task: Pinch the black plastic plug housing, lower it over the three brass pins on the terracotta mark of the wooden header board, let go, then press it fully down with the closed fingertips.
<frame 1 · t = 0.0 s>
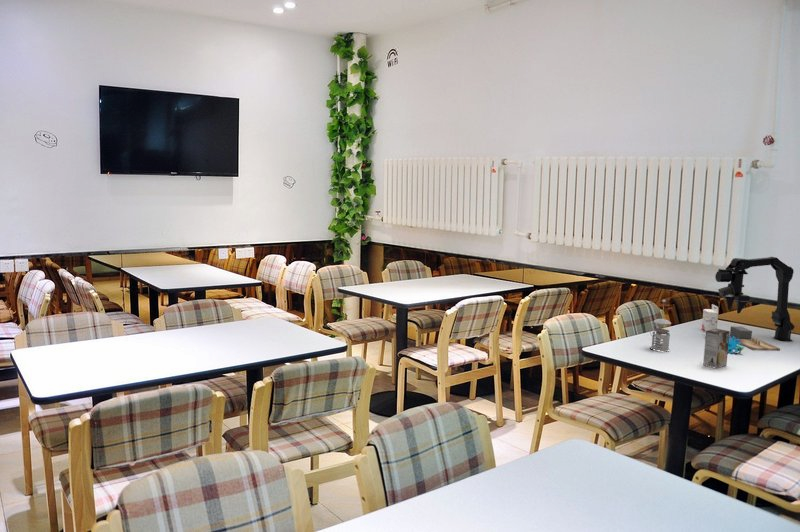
hand: (733, 311, 345), 15 cm above the table, fingers open, 9 cm apart
french press: (658, 349, 322), on the table
gear: (730, 352, 319), on the table
plug housing: (740, 337, 350), on the table
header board: (755, 345, 334), on the table
ink cartridge box: (708, 331, 363), on the table
coffee box: (714, 365, 296), on the table
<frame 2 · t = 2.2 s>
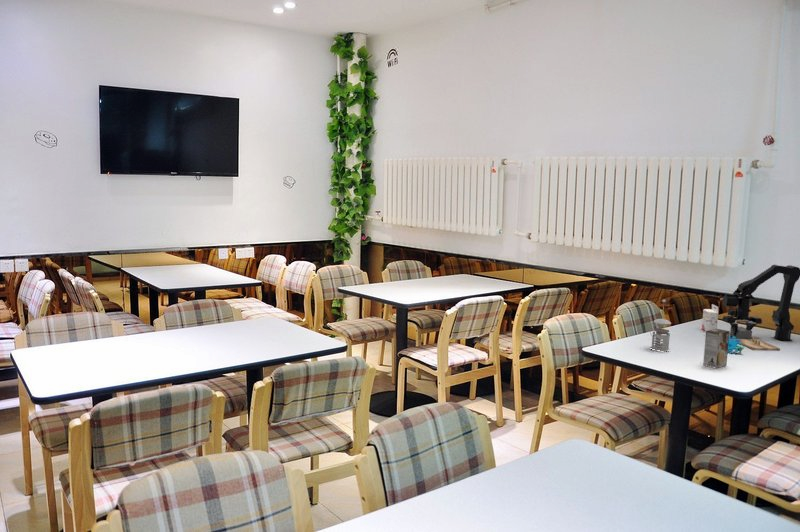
hand: (740, 335, 350), 1 cm above the table, fingers closed on plug housing, 6 cm apart
plug housing: (740, 337, 350), on the table, touching gripper
everything else where it was.
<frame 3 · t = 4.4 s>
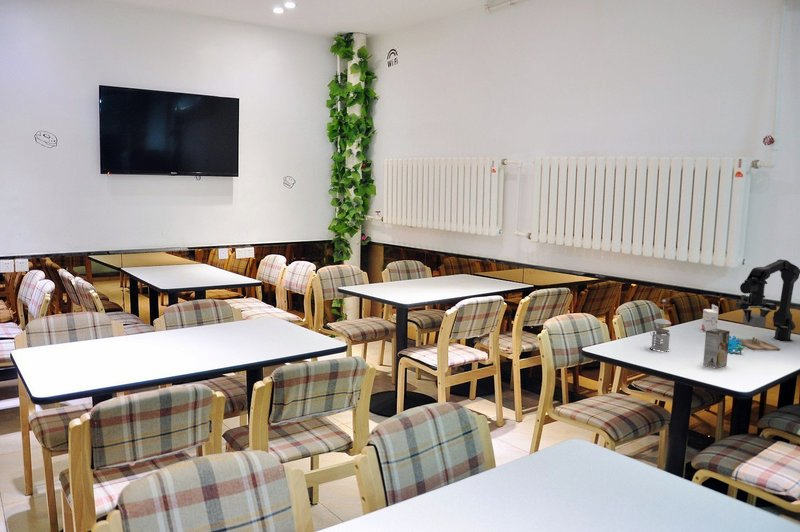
hand: (754, 322, 336), 11 cm above the table, fingers closed on plug housing, 6 cm apart
plug housing: (753, 324, 336), point 10 cm above the table, touching gripper
everything else where it was.
when the fingers open (3 cm above the table, at t = 7.1 s): plug housing stays where it is, resting on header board.
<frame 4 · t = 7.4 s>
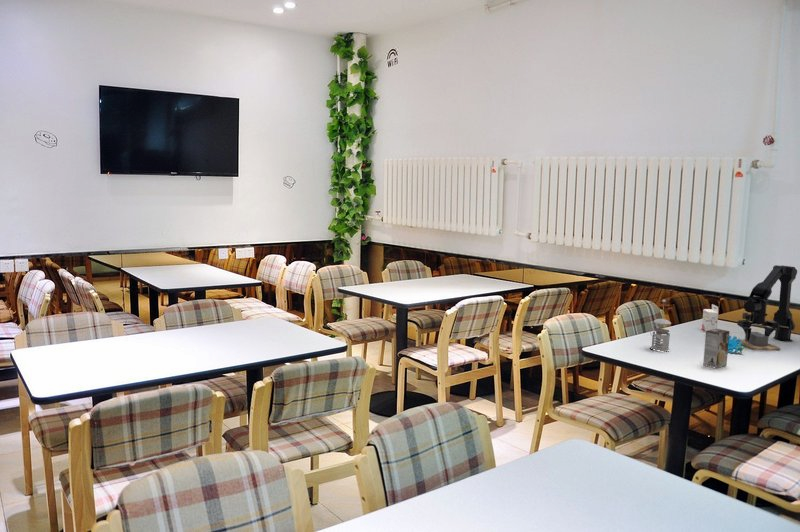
hand: (756, 340, 334), 3 cm above the table, fingers open, 9 cm apart
plug housing: (756, 343, 334), point 1 cm above the table, touching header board
everything else where it was.
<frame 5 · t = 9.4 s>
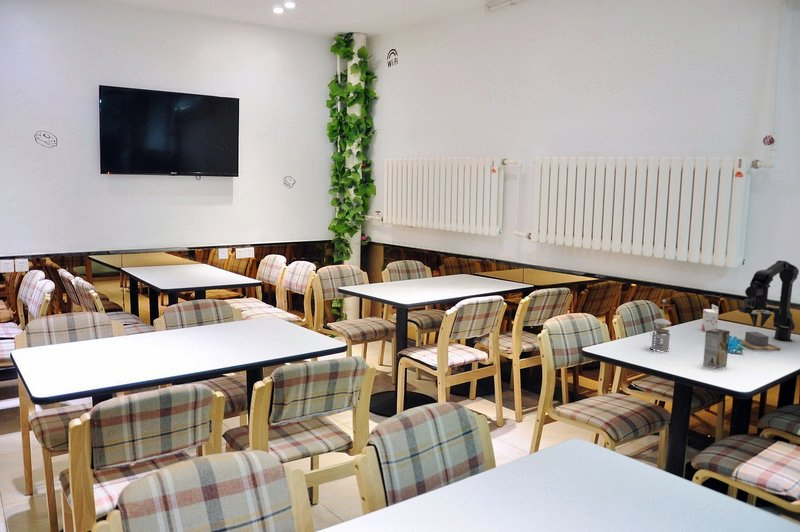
hand: (757, 326, 332), 10 cm above the table, fingers open, 3 cm apart
nothing on the table moved.
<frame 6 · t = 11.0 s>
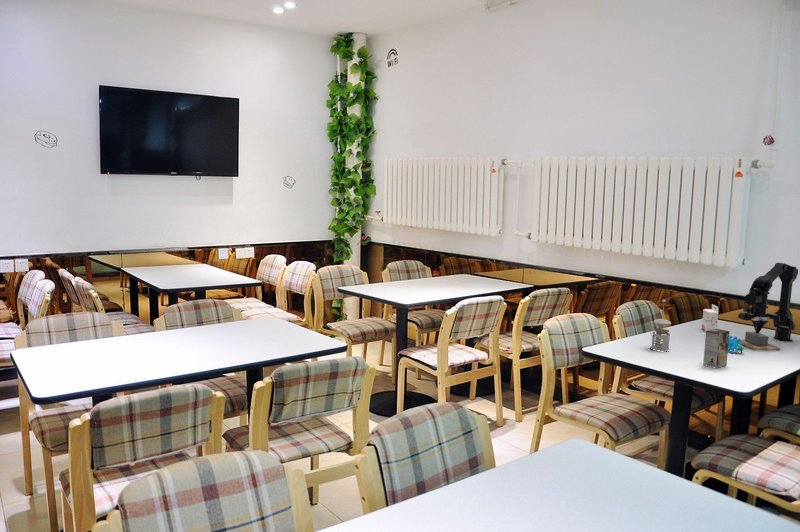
hand: (757, 333, 333), 6 cm above the table, fingers closed
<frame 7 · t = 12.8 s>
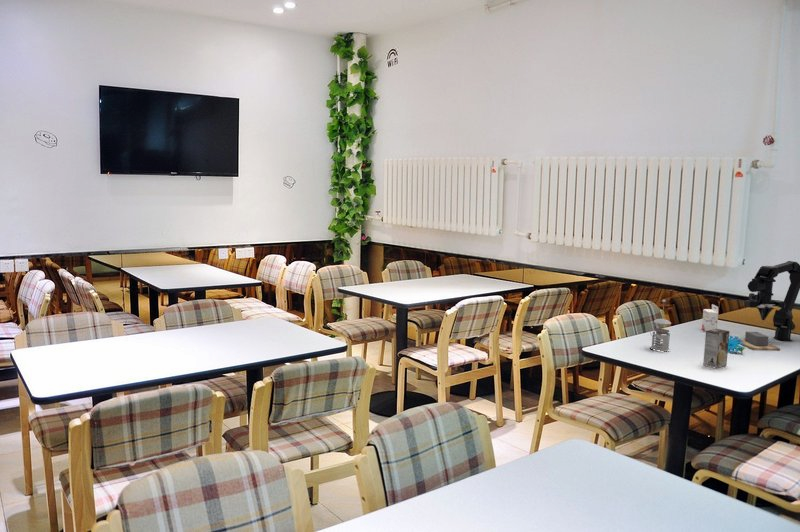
hand: (763, 320, 340), 12 cm above the table, fingers closed
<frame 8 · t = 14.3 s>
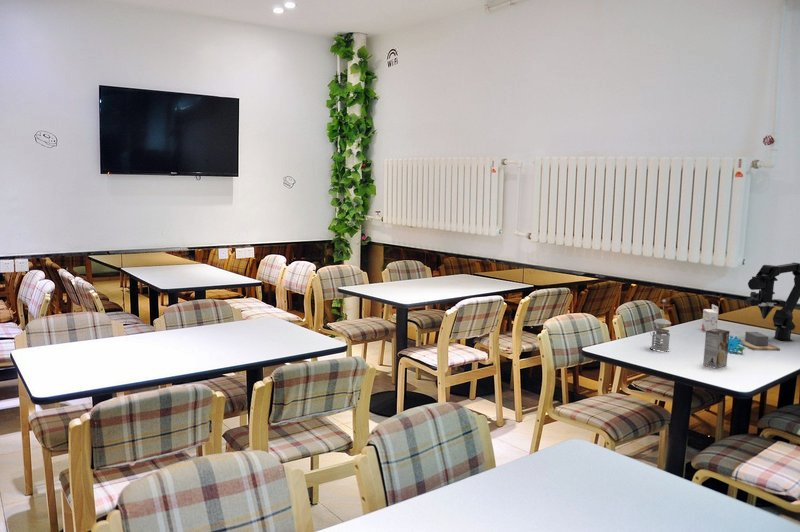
hand: (763, 318, 342), 12 cm above the table, fingers closed
at the end: plug housing 0.1 cm off-centre on the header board, point 1.0 cm above the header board's base; plug housing tilted 0°; the gripper is holding nothing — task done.
